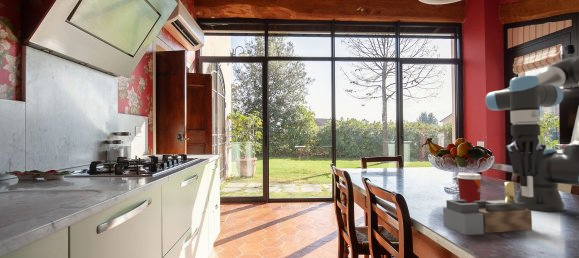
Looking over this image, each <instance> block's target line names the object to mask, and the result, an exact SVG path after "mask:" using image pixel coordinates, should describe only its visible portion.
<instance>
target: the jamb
mask: <svg viewBox="0 0 579 258" xmlns="http://www.w3.org/2000/svg"><path fill="white" fill-rule="evenodd" d="M445 202H446V206H443V207H442V212H443V213H442V214H443V226H444V227H446V228H448V229H451V230H453V231H455V232H457V233H460V234H461V235H464V236H474V235H484V234H485V232H484V228H483V214H482V213H479V204H477V203H467V202H466V200H463V199H461V200H460V199H446V200H445Z"/></svg>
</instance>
